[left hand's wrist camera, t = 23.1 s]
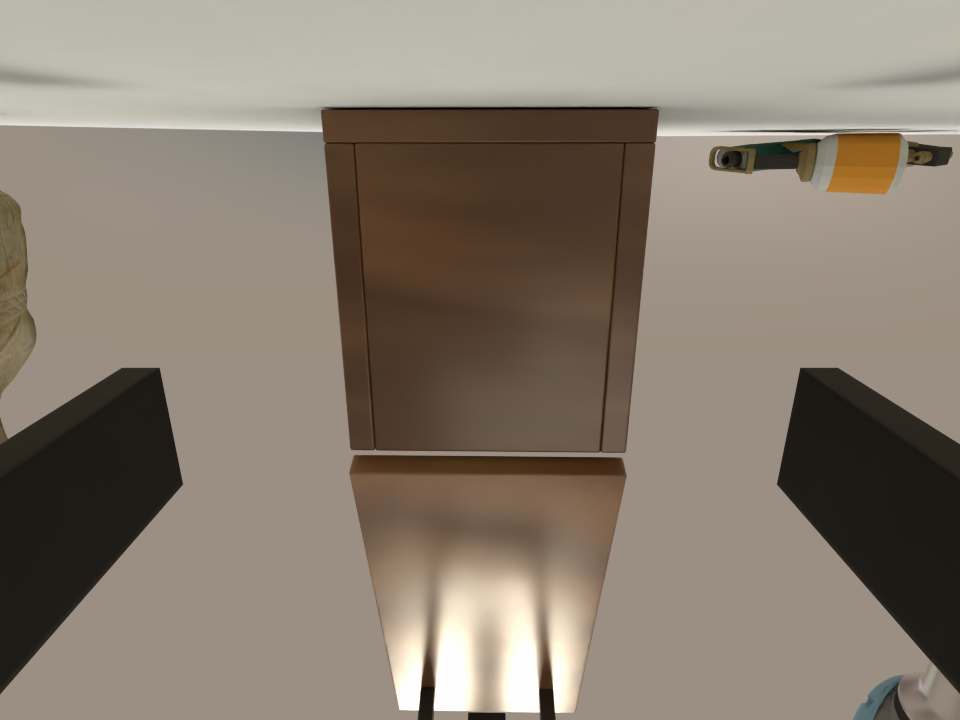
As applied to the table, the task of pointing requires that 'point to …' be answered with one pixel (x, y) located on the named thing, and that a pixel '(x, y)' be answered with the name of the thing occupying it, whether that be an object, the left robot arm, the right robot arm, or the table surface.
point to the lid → (487, 574)
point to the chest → (489, 274)
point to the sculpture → (13, 296)
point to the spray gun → (836, 160)
